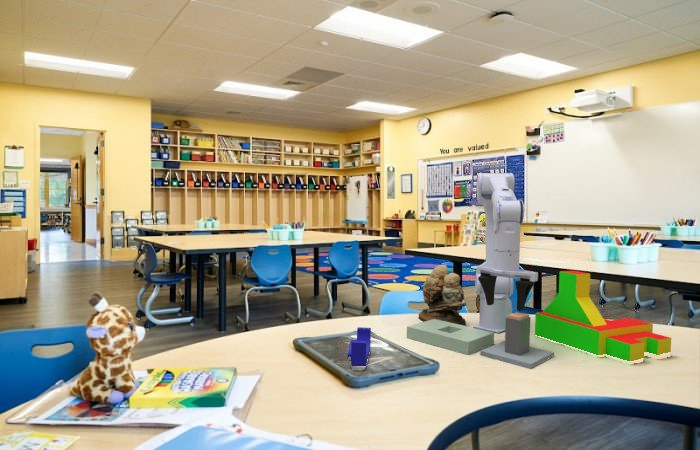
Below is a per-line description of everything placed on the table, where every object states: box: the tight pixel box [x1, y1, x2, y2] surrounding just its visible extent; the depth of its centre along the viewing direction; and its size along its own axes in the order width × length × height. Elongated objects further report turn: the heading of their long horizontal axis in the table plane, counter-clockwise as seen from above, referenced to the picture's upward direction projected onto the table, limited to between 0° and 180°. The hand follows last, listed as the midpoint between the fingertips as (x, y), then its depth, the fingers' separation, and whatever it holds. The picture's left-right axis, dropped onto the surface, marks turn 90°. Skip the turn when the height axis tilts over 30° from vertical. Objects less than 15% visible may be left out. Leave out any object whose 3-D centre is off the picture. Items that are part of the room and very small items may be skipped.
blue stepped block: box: [347, 326, 372, 366], centre depth 103 cm, size 12×4×6 cm, turn 173°
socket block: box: [406, 319, 495, 356], centre depth 119 cm, size 12×18×3 cm, turn 45°
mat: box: [479, 340, 555, 369], centre depth 108 cm, size 12×12×1 cm
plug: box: [504, 311, 531, 356], centre depth 108 cm, size 5×4×9 cm
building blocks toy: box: [534, 270, 672, 361], centre depth 117 cm, size 19×25×18 cm
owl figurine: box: [418, 264, 467, 326], centre depth 139 cm, size 18×12×17 cm, turn 27°
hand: (504, 307), depth 112 cm, fingers open, 7 cm apart
